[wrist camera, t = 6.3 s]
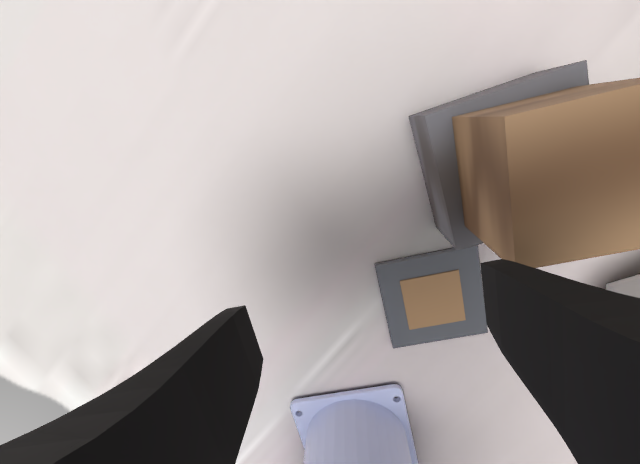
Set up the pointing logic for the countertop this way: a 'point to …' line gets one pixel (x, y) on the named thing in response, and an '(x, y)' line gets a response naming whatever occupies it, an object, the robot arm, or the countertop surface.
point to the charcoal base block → (439, 142)
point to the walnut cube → (554, 174)
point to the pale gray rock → (626, 286)
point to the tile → (433, 296)
